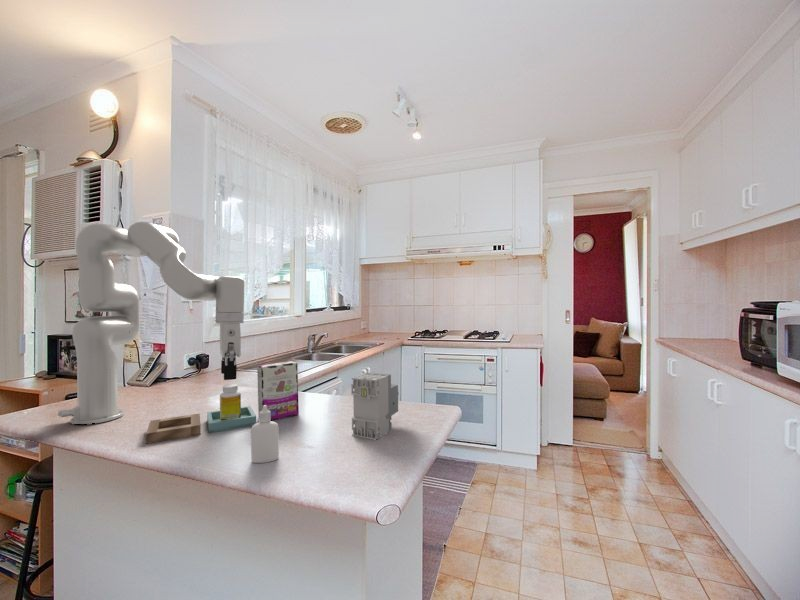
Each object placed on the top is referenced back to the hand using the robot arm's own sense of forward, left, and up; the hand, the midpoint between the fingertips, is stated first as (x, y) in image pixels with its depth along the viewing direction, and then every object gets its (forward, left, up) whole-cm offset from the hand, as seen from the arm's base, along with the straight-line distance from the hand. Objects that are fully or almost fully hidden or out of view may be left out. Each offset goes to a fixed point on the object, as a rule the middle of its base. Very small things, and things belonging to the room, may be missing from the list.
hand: (228, 376), depth 105 cm
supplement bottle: (0, 0, -13) cm, 13 cm away
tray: (+1, 0, -14) cm, 14 cm away
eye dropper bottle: (+5, -32, -14) cm, 36 cm away
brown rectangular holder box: (-13, 0, -14) cm, 19 cm away
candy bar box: (+14, -2, -14) cm, 20 cm away
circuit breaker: (+35, -28, -14) cm, 47 cm away
